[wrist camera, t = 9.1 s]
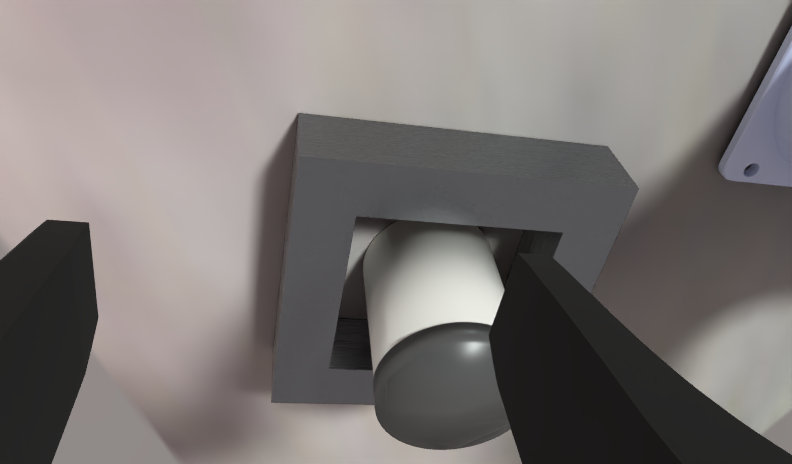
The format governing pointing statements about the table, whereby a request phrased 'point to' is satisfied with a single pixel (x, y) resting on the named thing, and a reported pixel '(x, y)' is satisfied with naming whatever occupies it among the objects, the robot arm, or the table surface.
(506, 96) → the table surface
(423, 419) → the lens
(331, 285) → the grey square frame
